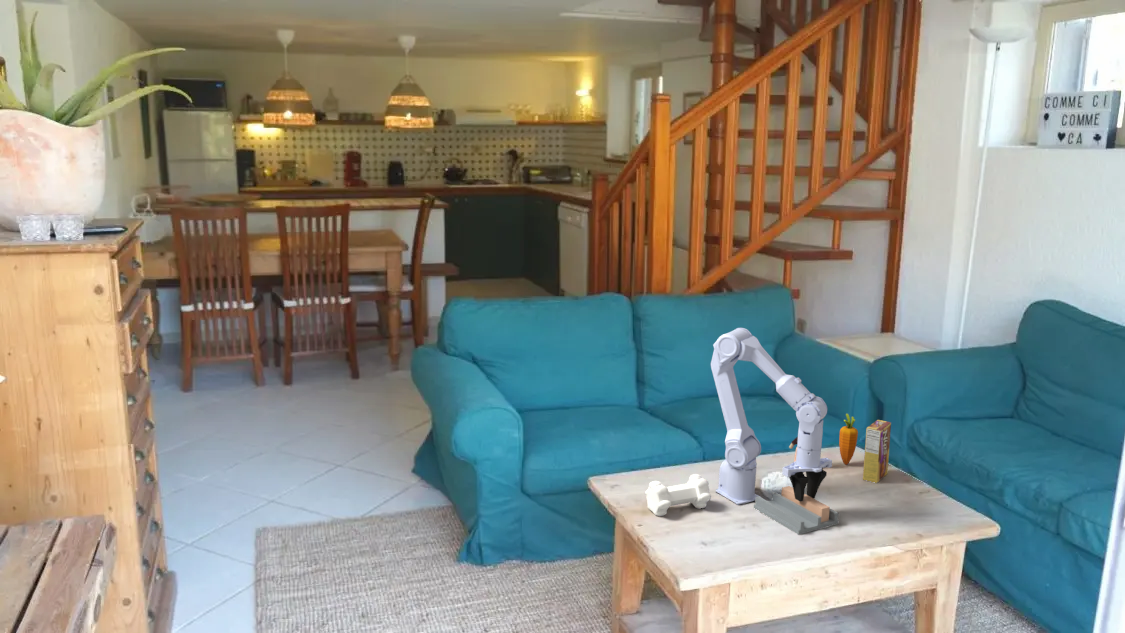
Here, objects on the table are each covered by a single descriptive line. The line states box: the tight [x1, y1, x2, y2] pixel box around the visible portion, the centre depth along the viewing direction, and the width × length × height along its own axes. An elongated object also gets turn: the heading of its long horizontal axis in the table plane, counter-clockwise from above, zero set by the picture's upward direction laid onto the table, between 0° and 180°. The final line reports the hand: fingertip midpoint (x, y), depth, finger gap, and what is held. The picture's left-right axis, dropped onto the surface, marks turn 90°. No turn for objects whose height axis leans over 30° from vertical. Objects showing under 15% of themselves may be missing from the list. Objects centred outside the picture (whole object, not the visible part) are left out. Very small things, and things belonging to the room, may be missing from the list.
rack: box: [753, 492, 840, 535], centre depth 212 cm, size 16×13×3 cm
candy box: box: [862, 419, 892, 484], centre depth 236 cm, size 9×4×15 cm, turn 141°
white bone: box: [644, 473, 712, 517], centre depth 214 cm, size 15×9×8 cm, turn 114°
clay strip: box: [780, 485, 831, 522], centre depth 213 cm, size 14×2×4 cm, turn 28°
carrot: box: [838, 413, 859, 466], centre depth 244 cm, size 5×5×15 cm
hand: (804, 498), depth 212 cm, fingers open, 3 cm apart
